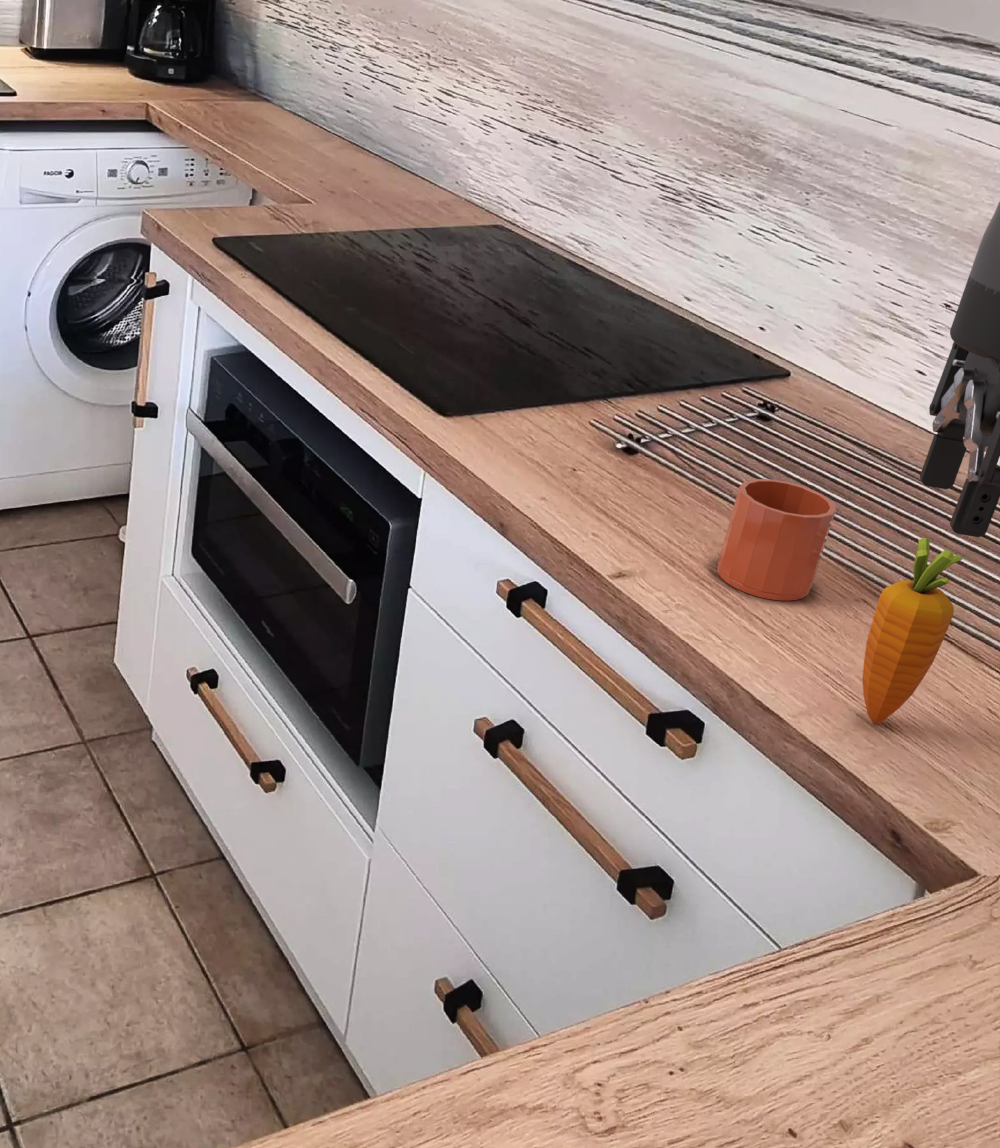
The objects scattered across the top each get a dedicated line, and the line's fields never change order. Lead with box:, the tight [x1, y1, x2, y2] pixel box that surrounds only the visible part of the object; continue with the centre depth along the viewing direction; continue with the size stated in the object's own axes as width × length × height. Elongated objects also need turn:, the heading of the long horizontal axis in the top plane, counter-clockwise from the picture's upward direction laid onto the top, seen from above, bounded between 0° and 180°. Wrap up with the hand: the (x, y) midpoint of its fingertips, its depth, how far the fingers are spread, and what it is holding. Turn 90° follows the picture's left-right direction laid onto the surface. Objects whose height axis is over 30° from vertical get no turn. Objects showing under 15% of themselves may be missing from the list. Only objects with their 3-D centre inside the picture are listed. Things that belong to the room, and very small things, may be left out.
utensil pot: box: [716, 478, 837, 602], centre depth 132 cm, size 8×8×8 cm
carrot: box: [862, 537, 963, 725], centre depth 109 cm, size 5×5×15 cm
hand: (949, 508), depth 105 cm, fingers open, 8 cm apart
